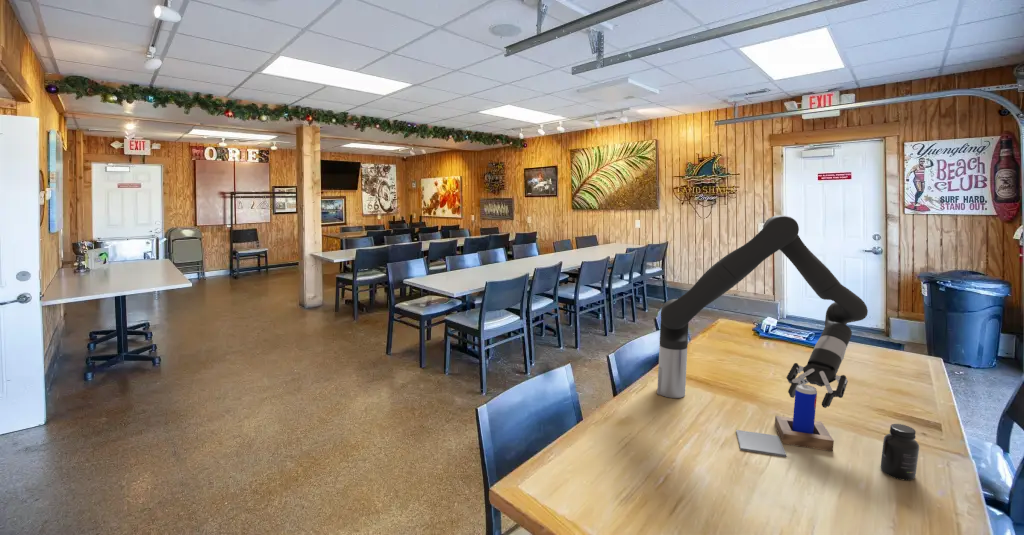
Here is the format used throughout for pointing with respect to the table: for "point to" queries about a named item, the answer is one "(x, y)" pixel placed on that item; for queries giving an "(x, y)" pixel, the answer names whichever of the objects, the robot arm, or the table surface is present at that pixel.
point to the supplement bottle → (900, 452)
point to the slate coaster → (760, 443)
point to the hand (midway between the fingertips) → (807, 401)
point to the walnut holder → (804, 435)
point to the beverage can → (804, 409)
